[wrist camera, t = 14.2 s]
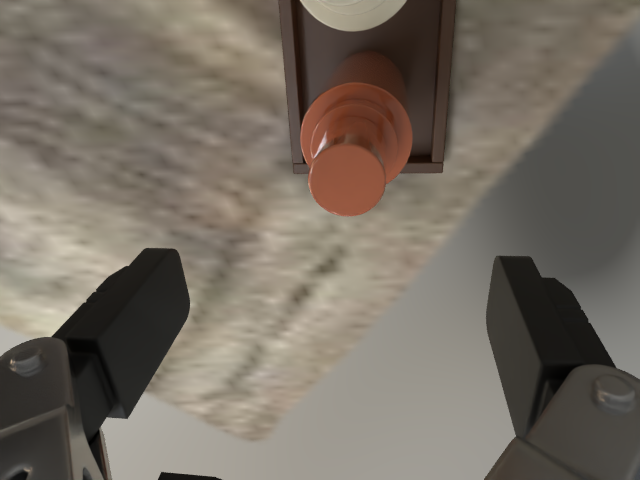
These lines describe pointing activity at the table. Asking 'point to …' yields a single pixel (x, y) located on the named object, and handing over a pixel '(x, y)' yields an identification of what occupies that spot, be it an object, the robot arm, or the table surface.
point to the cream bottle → (353, 12)
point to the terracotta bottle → (357, 133)
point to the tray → (390, 40)
